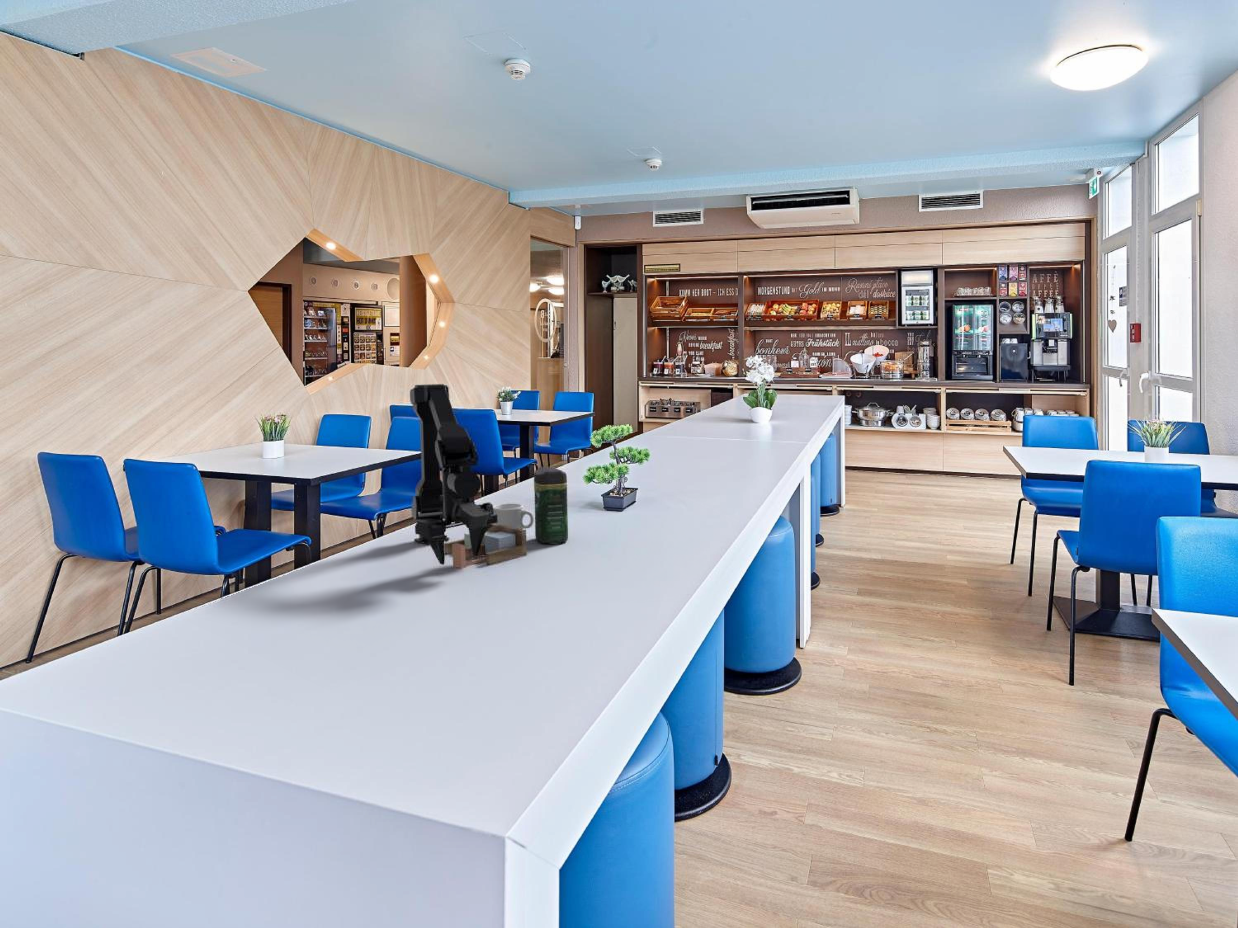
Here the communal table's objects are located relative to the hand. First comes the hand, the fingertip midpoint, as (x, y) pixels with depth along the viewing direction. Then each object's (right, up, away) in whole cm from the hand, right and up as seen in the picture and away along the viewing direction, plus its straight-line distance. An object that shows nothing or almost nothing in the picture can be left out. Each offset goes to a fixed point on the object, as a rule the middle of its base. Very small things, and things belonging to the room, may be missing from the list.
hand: (459, 559), depth 178 cm
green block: (+2, 0, +14) cm, 14 cm away
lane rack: (+4, 0, +10) cm, 11 cm away
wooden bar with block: (+5, -1, +5) cm, 7 cm away
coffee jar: (+19, +2, +24) cm, 30 cm away
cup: (+8, +2, +28) cm, 30 cm away
